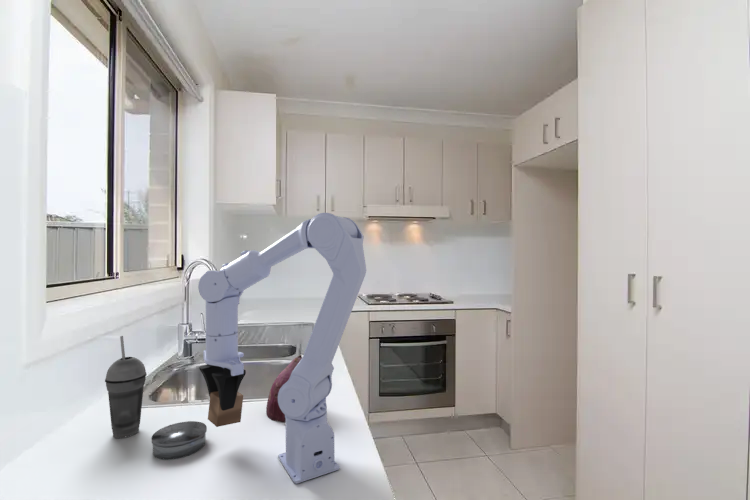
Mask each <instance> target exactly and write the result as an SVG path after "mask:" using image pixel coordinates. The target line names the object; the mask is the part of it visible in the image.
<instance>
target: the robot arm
mask: <svg viewBox="0 0 750 500" xmlns="http://www.w3.org/2000/svg"><path fill="white" fill-rule="evenodd" d="M306 249H314V250H316V251H317V253H319V255H321V256H322V257H323V258H324V259H325V260H326V262H327V264H328V266H329V268H330V270H331V272H332V277H331V280H330V283H329V286H328V288H327V289H326V290H327V291H326V294H325V296H324V299H323V301H322V303H321V304H322V305H321V307H320V310H319V312H318V315H317V318H316V320H315V323H314V325H313V328H312V331H311V334H310V336H309V339H308V341H307V344H306V347H305V349H304V353H303V356H301V357H302V359H301V360H300V362H299V363H298V364H297V366H296V367H295V368H294V370H293V371H292V373H291V376H290V378H289V380H288V381H287V382H286V383H285V384H284V385H283V386H282V387H281V388H280V390H279V393H278V404H279V407H280V409H281V411H282V412H283V413H284V414H285V418H286V422H285V452H283V453H279V454H278V457H277V458H278V460H279V461H280V463H281V464H282V466H283V467H284V469H285V470H286V473H287V474H288V475H289V477H290V479H291V481H293V484H299V483H304V482H306V481H309V480H311V479H314V478H318V477H321V476H323V475H326V474H330V473H333V472H336V471H339V470H340V465H339V464H338V462H337V461H336V460H335V432H334V430H333V428H332V427H331V425H330V424H329V422H328V412H327V411H328V409H327V408H328V405H327V397H328V396H329V395H330V394H331V391H332V387H333V381H332V379H333V378H332V377H333V376H332V375H333V372H334V369H335V367H334V365H333V361H334V357H335V356H336V353H337V351H338V349H339V346H340V344H341V343H340V342H341V340H342V337H343V335H344V331H345V330H346V326H347V324H348V321H349V320H350V319H349V318H350V316H351V313H352V311H353V308H354V306H355V303H356V300H357V298H358V295H359V292H360V290H361V287H362V285H363V282H364V281H365V277H366V273H367V264H366V258H365V250H364V235H363V233H362V231H361V229H360V227H359V226H358V224H357V223H356V222H355V221H354V220H353V219H351V218H349V217H344V216H338V215H335V214H333V213H330V212H320V213H318V214H316V215H314V216H312V218H308V219H306V220H304V221H302V222H301V223H300V224H299V225H298V226H297V227H296V228H294V229H293V230H291V231H289V232H288V233H287V234H285V235H284V236H282V237H281V238H280V239H278V240H276V241H275V242H274V243H272V244H271V245H268V247H266V248H265V249H263V250H262V251H259V250H255V249H251V250H250V249H249V250H247V249H246V250H243V251H241V252H240V253H239V254H240V256H239V257H238V258H236V259H234V260H233V261H231V262H226V263H223V264H222V265H221V268H220V270H214V269H212V270H207V271H206V272H205V273H204V274H203V275H201V277H200V279H199V280H198V284H197V285H198V286H197V288H198V289H197V290H198V293H199V295H200V297H201V298H202V299H203V300H204V301H205V349H204V350H202V360H203V361H204V363H205V364H204V365H203V364H202V365H200V366H199V367H198V369H199V371H200V372H201V374H202V376H203V378H204V380H205V384H206V387H207V393H208V396H209V397H210V394H211V392H217V391H218V393H219V401H220V406H221V409H222V410H223V411H224V410H228V409H231V408H234V404H235V400H236V396H237V392H239V388H240V386H241V383H242V381H243V380H244V377H245V375H246V373H247V371H246V369H245V368H244V362H242V361H241V358H243V357H244V356H245V355H244V353H245V352H241V351H239V323H238V322H239V317H238V316H239V305H240V298H241V296H242V294H243V293H244V291H245V290H247V289H248V288H250V287H252V286H254V285H256V284H257V283H259V282H260V281H263V280H264V279H266V278H268V277H269V275H270V274H271V269H272V267H274V266H275V265H277V264H279V263H281V262H283V261H285V260H287V259H289V258H291V257H292V256H294V255H296V254H299V253H300V252H302V251H305V250H306Z"/></svg>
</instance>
